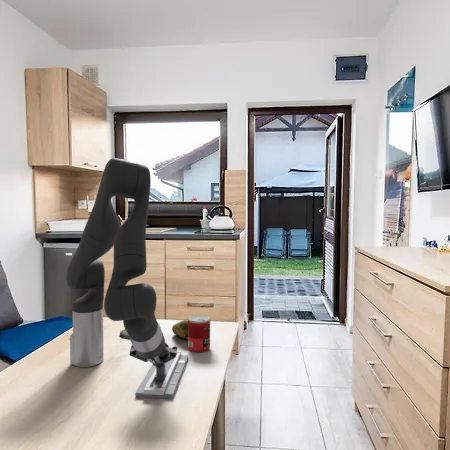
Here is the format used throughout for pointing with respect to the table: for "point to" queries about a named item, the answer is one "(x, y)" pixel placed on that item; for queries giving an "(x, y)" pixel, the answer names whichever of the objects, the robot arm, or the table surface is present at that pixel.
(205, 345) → the canned food
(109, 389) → the table surface
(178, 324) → the potato
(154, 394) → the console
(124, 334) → the grey rough oval piece
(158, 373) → the fader tab
